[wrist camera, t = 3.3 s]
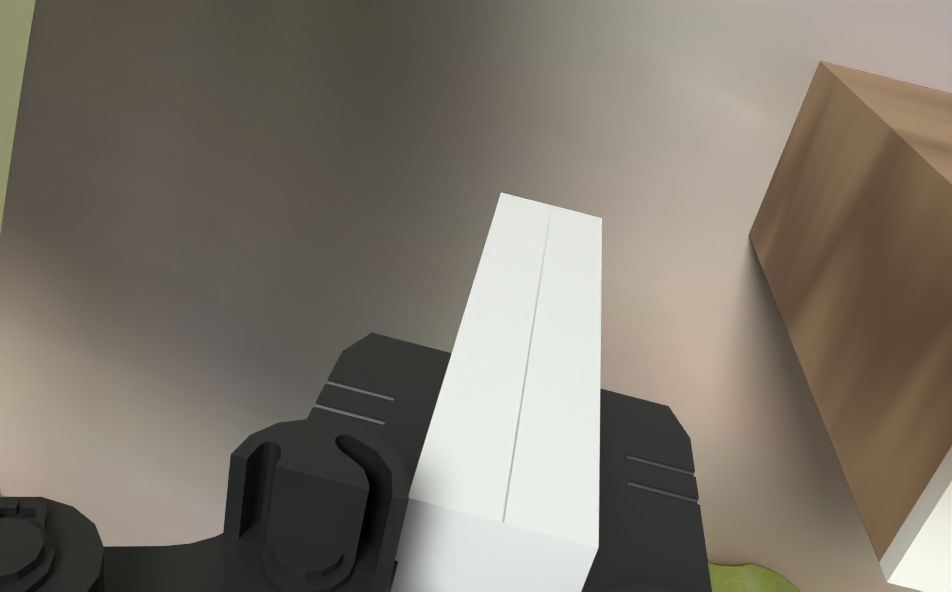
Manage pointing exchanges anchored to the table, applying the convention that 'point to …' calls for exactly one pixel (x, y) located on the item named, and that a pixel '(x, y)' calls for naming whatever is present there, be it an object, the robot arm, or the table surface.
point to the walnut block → (873, 300)
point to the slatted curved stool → (11, 77)
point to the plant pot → (747, 579)
